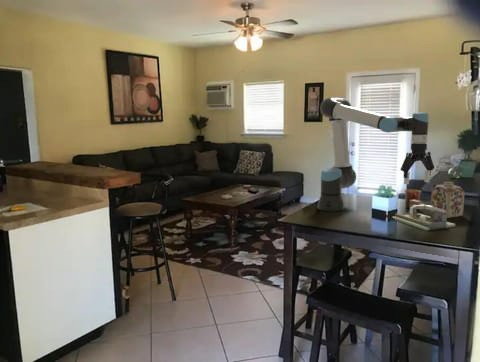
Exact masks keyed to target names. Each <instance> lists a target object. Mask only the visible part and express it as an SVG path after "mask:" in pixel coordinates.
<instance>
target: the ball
mask: <svg viewBox="0 0 480 362" xmlns="http://www.w3.org/2000/svg"><path fill="white" fill-rule="evenodd" d="M424 215H425V214H423V215H421V216H420V217H419V220H420V221H426V217H425V216H424Z"/></svg>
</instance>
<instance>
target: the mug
mask: <svg viewBox="0 0 480 362" xmlns="http://www.w3.org/2000/svg"><path fill="white" fill-rule="evenodd" d="M404 193H405V201H404V204H405V208H406V209H409V210H410V207H409V200H419V201H420V195H421V194H422V190H419V189H410V188H409V189H405V190H404Z"/></svg>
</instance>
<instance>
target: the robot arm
mask: <svg viewBox="0 0 480 362" xmlns="http://www.w3.org/2000/svg"><path fill="white" fill-rule="evenodd" d="M319 110H320V114H321V115H322V116H324V117H325V118H328V122H329V123H330V124H331V127H332V142H333V155H334V157H333V158H334V164H333V166H332V167H329V168H325V169H323V170H322V171H321V174H320V196H319V200H318V203H317V210H320V211H323V212H341V211H343V210H344V209H345V208H344V207H345V204H344V202H343V198H342V189H347V188H350V187H352V186H353V185H354V184H355V182H356V181H357V174H356V173H357V172H356V171H355V170H354V168H353V165H352V163H350V154H349V153H350V151H349V150H350V149H349V139H348V137H349V135H348V124H347V123H348V122H351V123H355V124H358V125H363V126H365V127H370V128H374V129H377V130H380V131H382V132H383V133H395V132H411V137H410V138H411V144H410V151H411V152H406V156H405V158H404V160H403V163H402V165H401V167H400V169H399V170H400V171H401V172H403V184H404V185H409V184H410V174H411V173H410V172H411V171H410V170H411V168H412V167H413V165H414V164H415V163H416V162H419V161H420V162H421V163H422V166H424V168H425V169H424V183H430V178H431V172H432V171H433V170H434V169H435V165H434V162H433V158H432V156H431V151H427V150H428V147H427V146H428V144H427V142H428V132H429V123H430V122H429V113H427V112H413V113H412V116H394V117H393V116H389V115H386V114H385V115H384V114H380V113H377V112H374V111H373V112H372V111H368V110H365V109H361V108H357V107H352V103H350V101H349V100H348V99H346V98H343V97H327V98H326V99H324V100H323V101H322V102H321V104H320V107H319Z"/></svg>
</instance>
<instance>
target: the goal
mask: <svg viewBox="0 0 480 362" xmlns="http://www.w3.org/2000/svg"><path fill="white" fill-rule="evenodd" d="M438 219H439V218H438ZM438 219H435V220H434V223H428V222H424V221H420V225H423V226H426V227H429V228H430V230H429V231H432V230H434V231H435V230H441V229H447V228H446V227H445V228H444V226H446V222H447V221H446V222H445V221H442V220H438Z"/></svg>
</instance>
